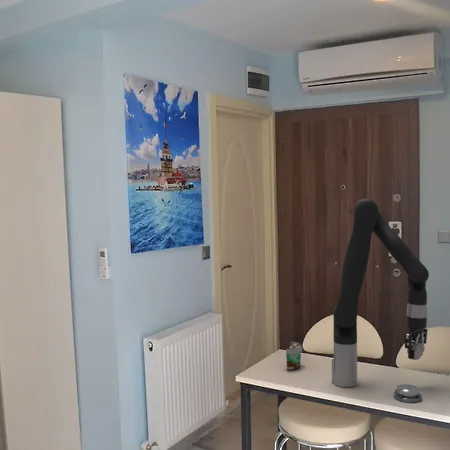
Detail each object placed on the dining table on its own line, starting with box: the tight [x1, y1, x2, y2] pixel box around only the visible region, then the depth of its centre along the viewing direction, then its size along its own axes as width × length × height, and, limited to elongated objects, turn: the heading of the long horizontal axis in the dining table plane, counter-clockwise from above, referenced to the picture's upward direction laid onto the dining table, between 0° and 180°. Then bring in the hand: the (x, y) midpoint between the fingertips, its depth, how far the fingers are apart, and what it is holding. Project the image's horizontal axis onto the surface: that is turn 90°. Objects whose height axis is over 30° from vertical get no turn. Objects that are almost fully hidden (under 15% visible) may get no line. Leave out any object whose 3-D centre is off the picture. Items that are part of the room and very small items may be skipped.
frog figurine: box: [406, 342, 426, 361], centre depth 212 cm, size 6×7×7 cm
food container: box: [285, 341, 303, 372], centre depth 239 cm, size 12×6×10 cm, turn 164°
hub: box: [393, 383, 423, 404], centre depth 202 cm, size 10×10×4 cm
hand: (415, 356), depth 212 cm, fingers closed on frog figurine, 6 cm apart
